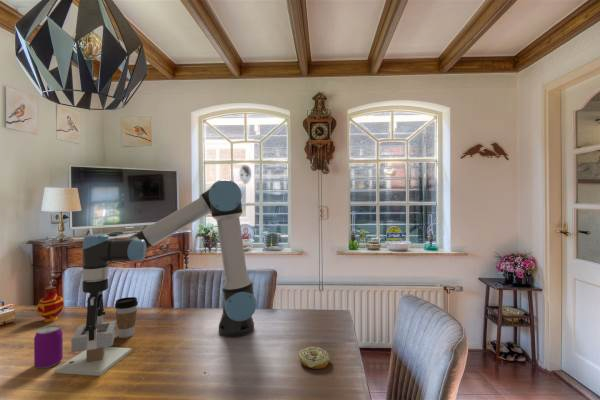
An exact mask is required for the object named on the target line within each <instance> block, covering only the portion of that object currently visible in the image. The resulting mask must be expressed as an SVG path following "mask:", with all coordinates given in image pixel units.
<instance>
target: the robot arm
mask: <svg viewBox="0 0 600 400" xmlns="http://www.w3.org/2000/svg"><path fill="white" fill-rule="evenodd" d="M242 196H243V195H242V190H241V188H240V186H239V185H238V184H237V183H236V182H235V181H234V180H230V179H220V180H217V181H215V182H214V183H212V185H211V186H210V188H209V189H208V190H206V191H204V192H202V193H201V194H200V195H199V198H197V199H195V200H194V201H191V202H190V203H188V204H186V205H185V206H183V207H181V208H179V209H177V210H176V211H174V212H172V213H170V214H168V215H167V216H165V217H163V218H162V219H159V220H158V221H156V222H153V224H150V225H149V226H147V227H145V228H144V229H142V230H139V231H138V232H136V233H135V234H132V235H131V236H128V238H126V239H115V240H114V239H109V235H108V234H106V233H104V234H103V233H96V234H87V235H85V236H84V237H83V240H82V241H83V242H82V270H81V271H80V273H81V274H82V280H83V281H82V292H83V293H85V294H89V296H88V297H87V301H86V302H87V309H86V310H87V311H86V324H85V325H86V329H84V331H87V350H92V349H97V327H96V325H97V323H101V322H104V316H105V315H106V311H105V309H104V294H103V293H104V291H106V290H107V289H109V279H108V277H109V262H110V263H111V262H112V263H113V262H130V261H131V262H136V261H142V260H144V259H145V258H146V256H147V250H148V249H150V248H151V247H154V246H155V245H157V244H159V243H161V242H162V241H163V240H166V239H167V238H169V237H171V236H172V235H174V234H176V233H178V232H179V231H181V230H183V229H185V228H187V227H188V226H189V225H192V224H194V223H196V222H197V221H199V220H200V219H202V218H204V217H206V216H207V215H211V217H212V218H213V219H214V220H215V221H216V224H217V232H218V239H219V247H220V253H221V259H222V261H221V262H222V266H223V267H222V268H223V273H224V278H223V280H222V284H221V288H222V313H221V314H222V315H221V318H220V319H219V324H218V333H219V335H221V336H224V337H228V338H238V337H244V336H247V335H249V334H251V333H252V332H254V329H255V322H254V319H253V315H254V314H255V312H256V309H257V299H256V297H255V292H254V287H253V281H252V280H253V279H251V278H250V277H249V276H248V271H247V264H246V263H247V262H246V257H245V250H244V243H243V236H242V234H243V233H242V228H241V220H240V217H241V216H242V214H243V213H244V212H243V205H242ZM89 326H92V327H89Z"/></svg>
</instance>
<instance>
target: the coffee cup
mask: <svg viewBox="0 0 600 400" xmlns="http://www.w3.org/2000/svg"><path fill="white" fill-rule="evenodd" d="M137 307H138V299H137V297H135V296H131V297H130V296H128V297H122V298H119V299H116V300H115V304H114V309H115V316H116V317H115V319H116V329H117V337H119V338H120V339H126V338H130V337H132V336H134V335H135V331H136V329H135V328H136V321H137V319H136V318H137V312H138V308H137Z"/></svg>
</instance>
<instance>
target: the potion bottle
mask: <svg viewBox="0 0 600 400" xmlns="http://www.w3.org/2000/svg"><path fill="white" fill-rule="evenodd" d="M56 288H57V286H55V285H54V286H48V287H45V291H44V293H45V294H46V296H45V297H42V298H41V299H40V300H39V301H38V304H37V305H36V307H37V308H36V310H37V315H38V316H41V317H42V318H44V321H43V322H44V323H50V322H55V321H57V320H58V317H57V316H58V315H59V314H60V313H61V312H62V311H63V308H64V307H65V300H64V298H63V297H62V296H61V295H58V294H57V293H56V292H57V289H56Z"/></svg>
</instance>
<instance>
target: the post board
mask: <svg viewBox="0 0 600 400" xmlns="http://www.w3.org/2000/svg"><path fill="white" fill-rule="evenodd" d="M132 351H133V349H132V348H131V347H116V346H115V347H114V346H108V347H102V348H97V349H92V350H83V351H80V353H78V354H76V355H75V356H74V357H72V358H70V359H69V360H67V361H65V362H64V363H62V364H60V365H59V366H57V367H56V368H54V373H55V374H68V375H81V376H97V377H101V376H102V375H103V374H105V373H106V372H108V371H109V370H110V369H111V368H113V367H114V366H116V364H118V363H119V362H120V361H122V360H123V359H124V358H125V357H127V356H128V355H129V354H130V353H132Z"/></svg>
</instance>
